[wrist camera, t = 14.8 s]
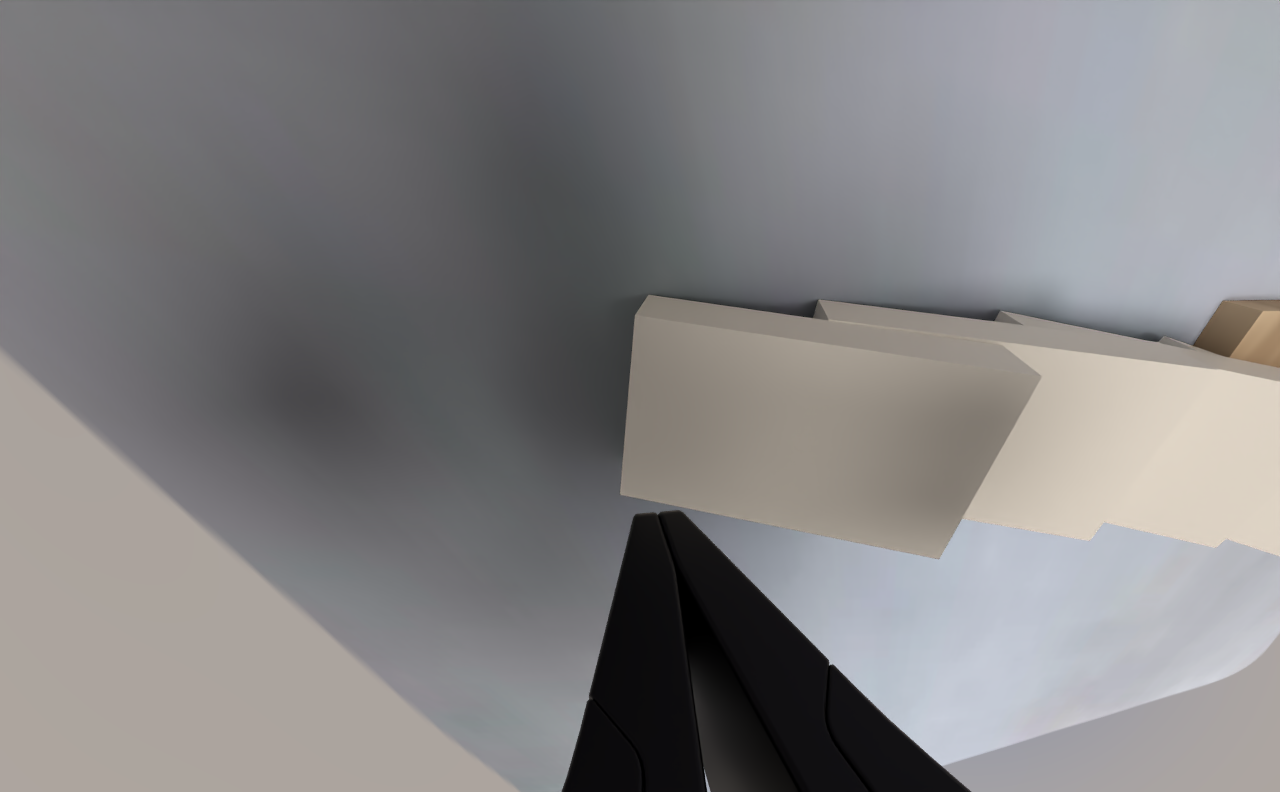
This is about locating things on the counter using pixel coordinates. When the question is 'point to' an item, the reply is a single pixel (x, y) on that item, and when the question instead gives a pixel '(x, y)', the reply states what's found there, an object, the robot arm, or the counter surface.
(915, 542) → the domino
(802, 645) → the robot arm
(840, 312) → the domino
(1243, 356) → the maple domino
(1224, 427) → the domino
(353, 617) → the counter surface
